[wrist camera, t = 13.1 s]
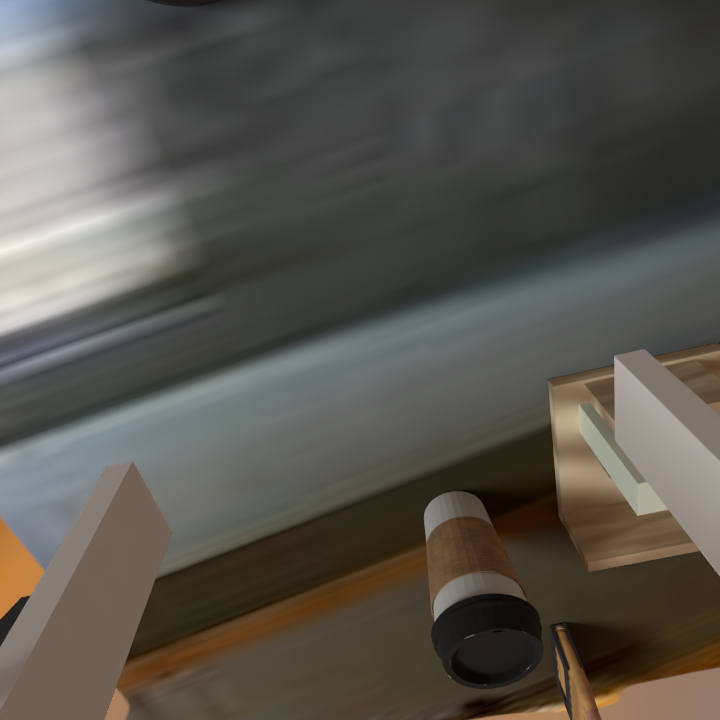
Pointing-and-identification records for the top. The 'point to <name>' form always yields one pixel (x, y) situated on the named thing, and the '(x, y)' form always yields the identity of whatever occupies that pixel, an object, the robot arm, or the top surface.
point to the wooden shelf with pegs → (593, 483)
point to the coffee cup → (477, 597)
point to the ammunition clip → (571, 676)
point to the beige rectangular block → (617, 462)
